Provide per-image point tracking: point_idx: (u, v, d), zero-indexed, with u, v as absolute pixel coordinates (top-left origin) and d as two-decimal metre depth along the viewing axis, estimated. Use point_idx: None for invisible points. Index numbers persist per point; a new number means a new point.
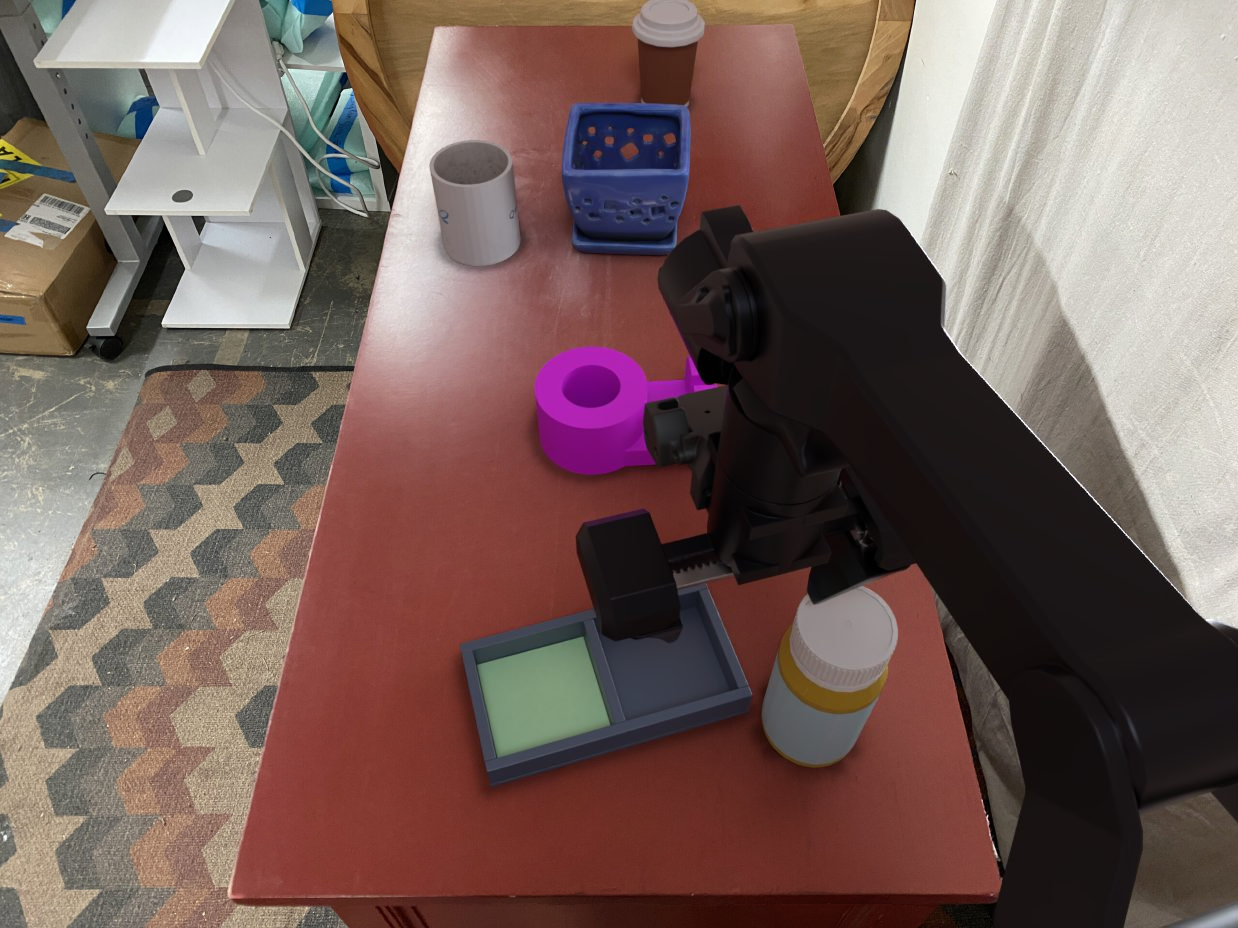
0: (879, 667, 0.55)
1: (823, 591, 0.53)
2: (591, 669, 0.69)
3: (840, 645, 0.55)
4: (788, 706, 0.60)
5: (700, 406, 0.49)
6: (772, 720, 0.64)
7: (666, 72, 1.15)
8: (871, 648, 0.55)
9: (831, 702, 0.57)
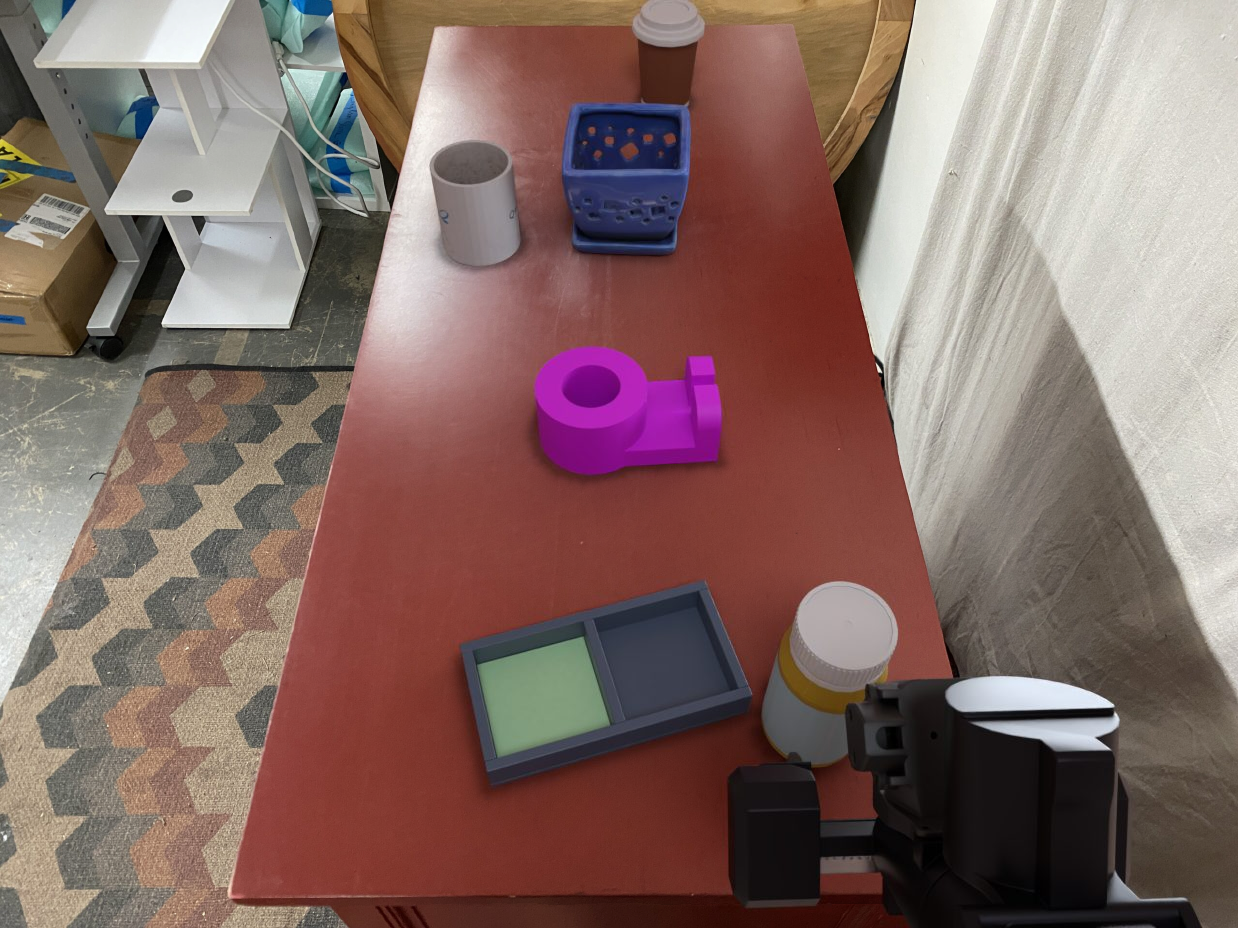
0: (879, 667, 0.55)
1: None
2: (591, 669, 0.69)
3: (840, 645, 0.55)
4: (788, 706, 0.60)
5: (928, 718, 0.40)
6: (772, 720, 0.64)
7: (666, 72, 1.15)
8: (871, 648, 0.55)
9: (831, 702, 0.57)
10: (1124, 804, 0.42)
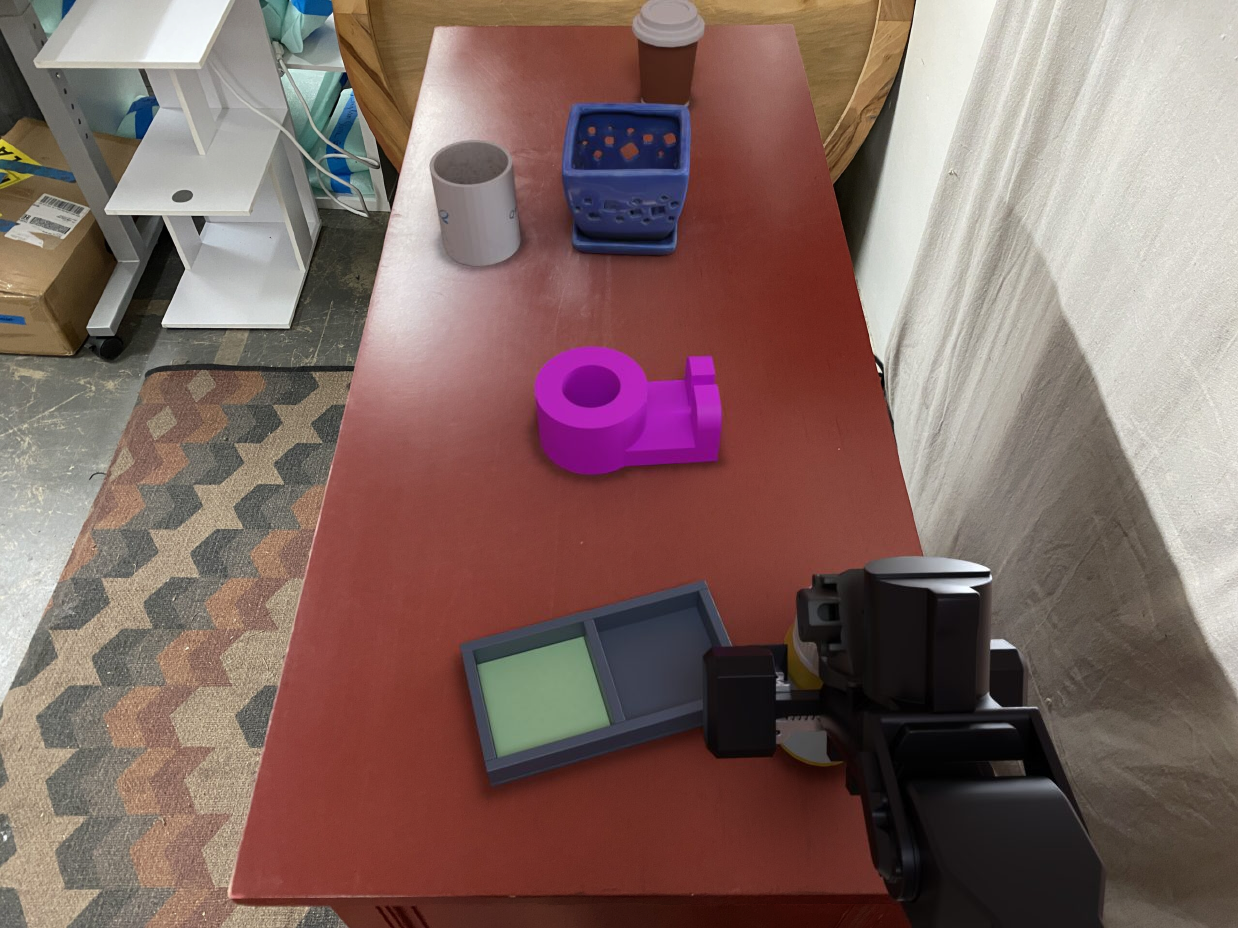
0: None
1: None
2: (591, 669, 0.69)
3: None
4: None
5: (860, 599, 0.50)
6: None
7: (666, 72, 1.15)
8: None
9: None
10: (1020, 673, 0.52)
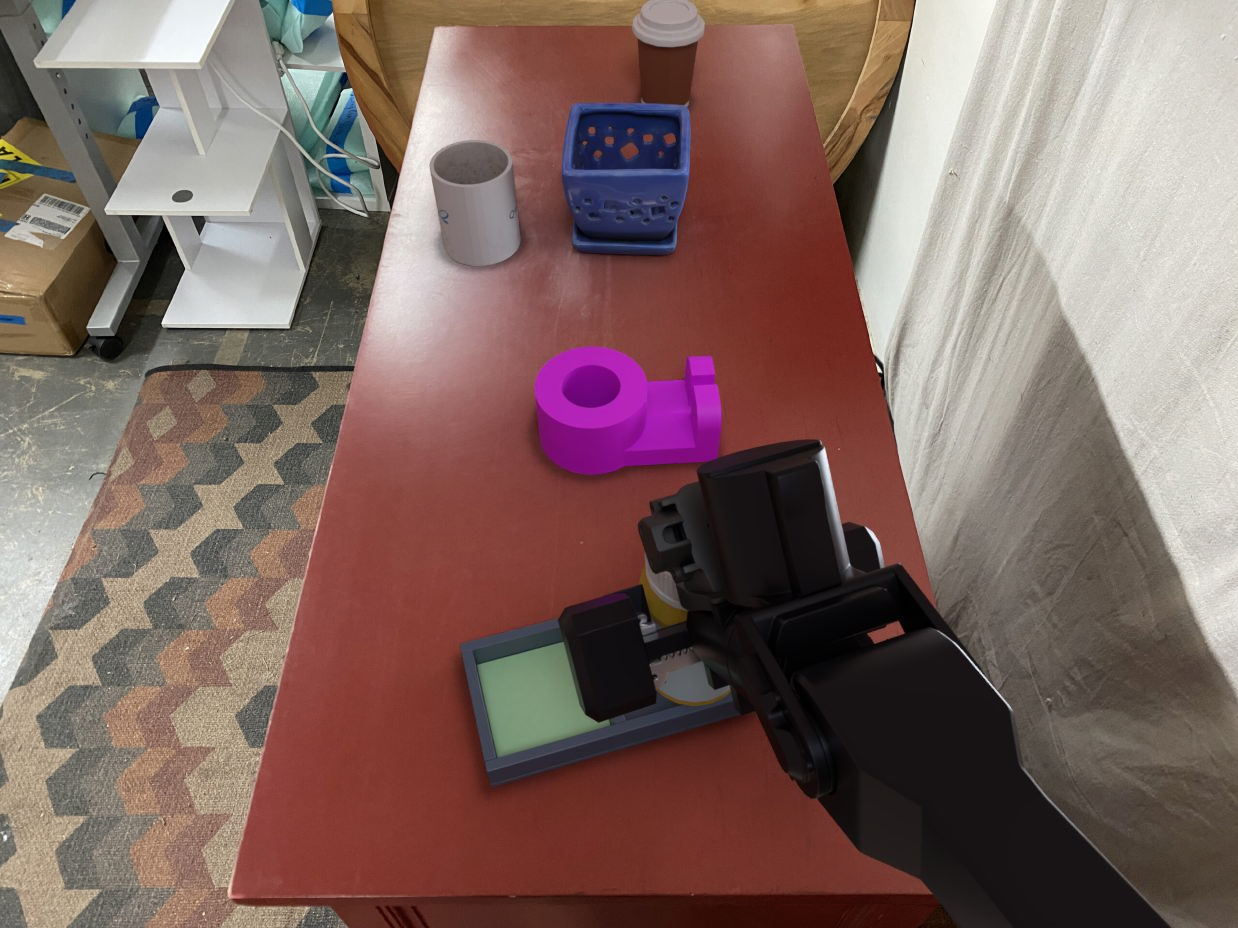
0: None
1: None
2: None
3: None
4: None
5: (703, 513, 0.47)
6: None
7: (666, 72, 1.15)
8: None
9: None
10: (873, 549, 0.52)
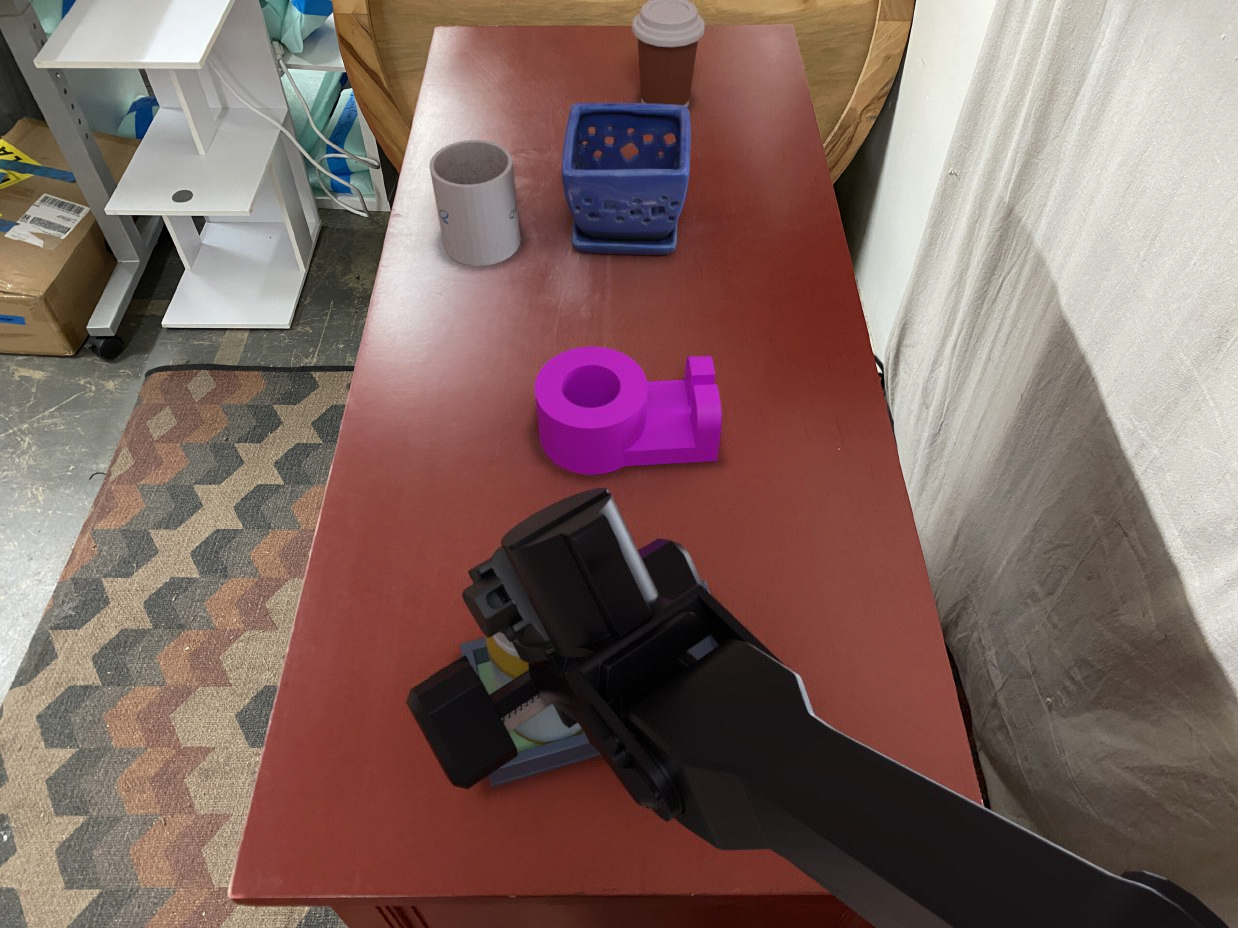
0: None
1: None
2: None
3: None
4: None
5: None
6: None
7: (666, 72, 1.15)
8: None
9: None
10: (683, 560, 0.56)
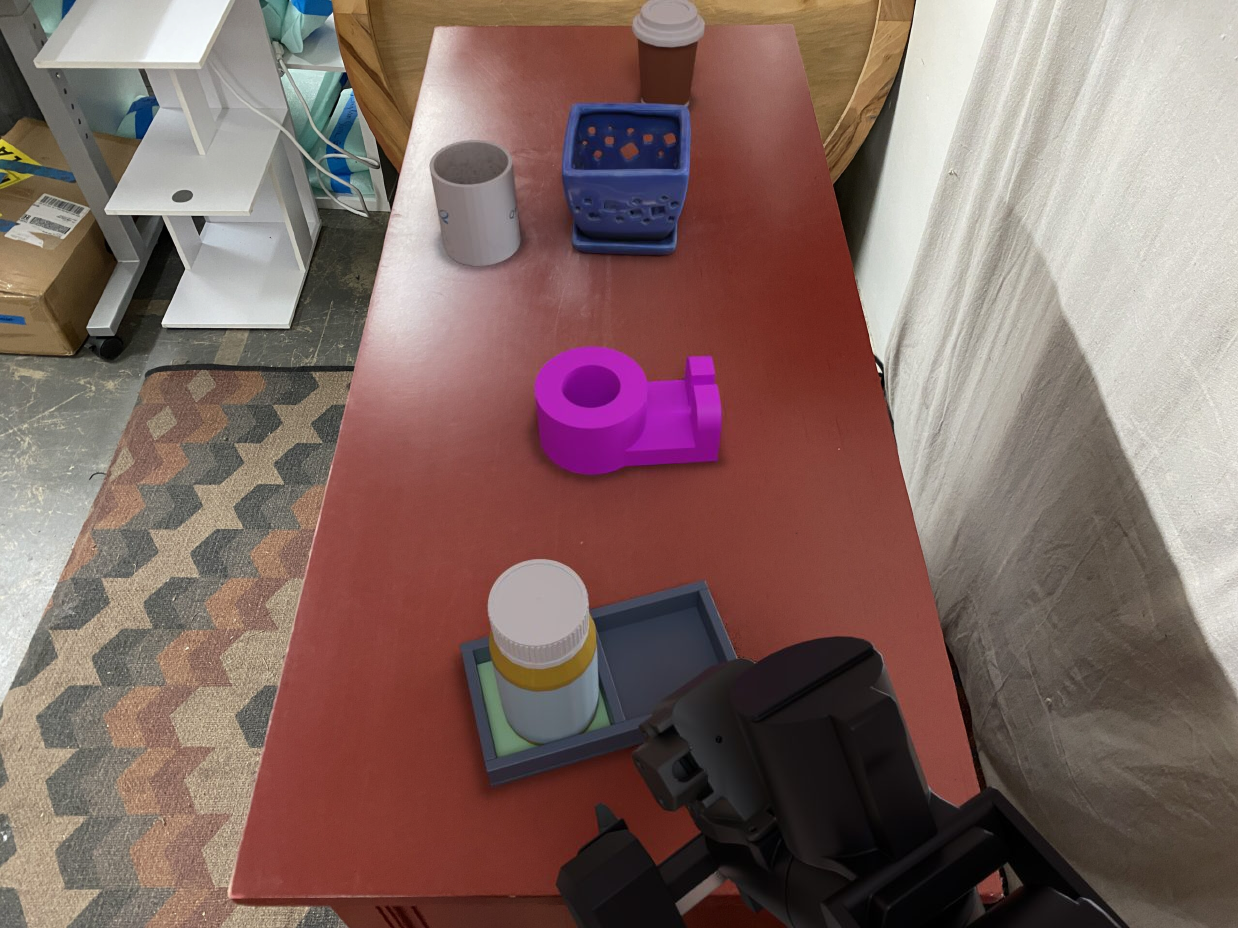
0: (583, 623, 0.56)
1: None
2: None
3: (541, 623, 0.55)
4: (525, 702, 0.59)
5: (707, 726, 0.39)
6: (518, 721, 0.63)
7: (666, 72, 1.15)
8: (568, 610, 0.56)
9: (559, 677, 0.57)
10: None
